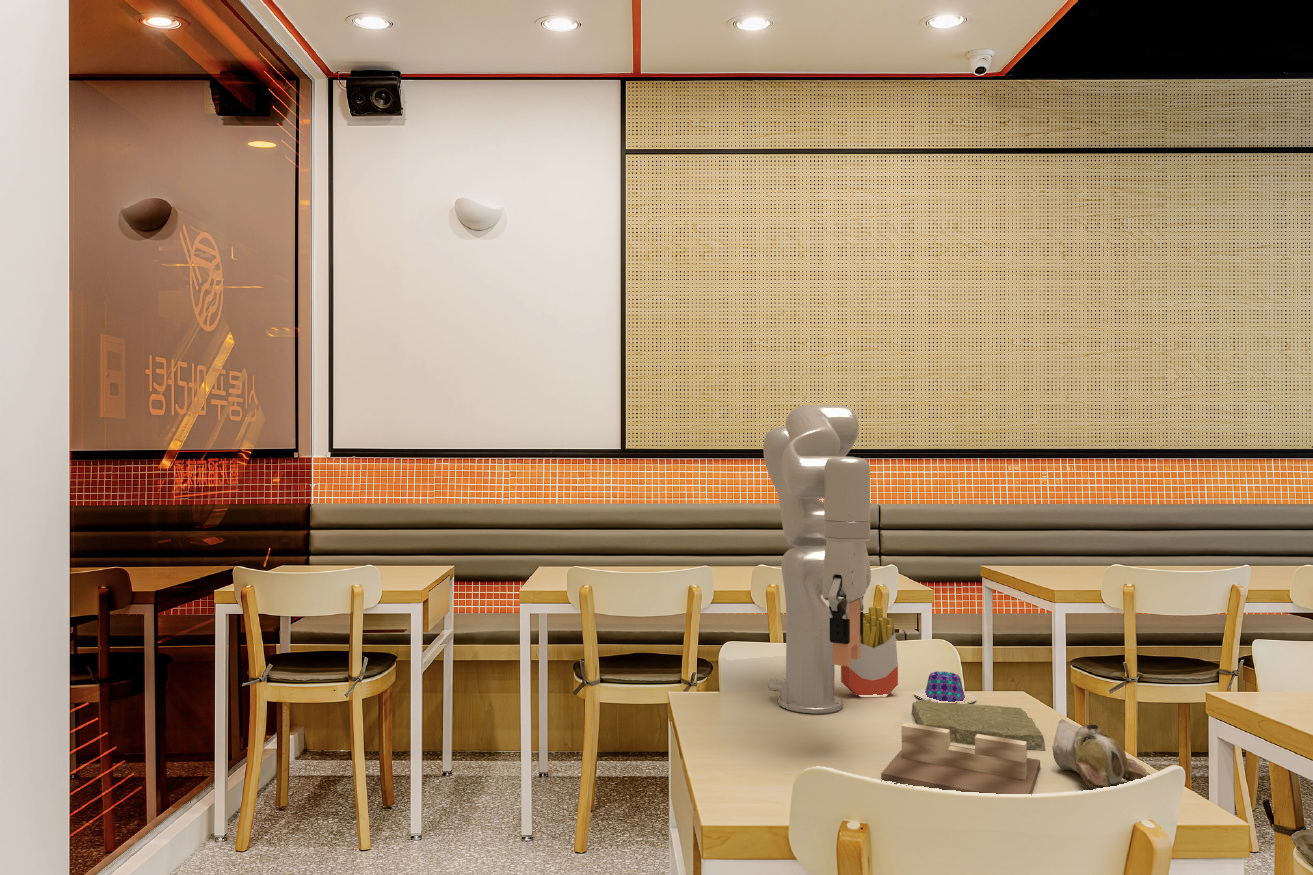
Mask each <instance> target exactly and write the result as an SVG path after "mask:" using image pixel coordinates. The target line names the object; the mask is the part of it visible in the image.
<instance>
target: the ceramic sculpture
mask: <svg viewBox="0 0 1313 875" xmlns="http://www.w3.org/2000/svg"><path fill="white" fill-rule="evenodd" d="M1051 748H1052V753H1053V754H1052V756H1053V759H1054V762H1055V763H1056V765H1057V766H1058V768H1060V769H1062V770H1063V771H1074V772H1076V773H1078V774H1079V775H1080V778H1081V779H1082V781H1083V782H1084V784H1085V785H1086V786H1088V787H1089V788H1091V789H1093V788H1103V787H1108V786H1109V787H1110V786H1111V785H1115V784H1117V783H1119V782H1121V781H1122V779H1123V780H1125V781H1126V782H1128V781H1133V780H1135V779H1141V778H1143V777H1146V776H1147V775H1151V774H1150V773H1149V772H1147V769H1146V768H1144V767H1143V766H1142V765H1141V764H1139V763H1137V762H1136V760H1134V759H1132V758H1127V755H1126V752H1125V749H1124V747H1123V746H1122V744H1121V743H1120V742H1119V741H1118V740H1116V739H1114V738H1113V737H1112V736H1110V735H1107V734H1104V733H1103V732H1102V729H1100V728H1099V726H1098V725H1097V724H1084V725H1083V726H1080V727H1079V726H1077V725H1074V724H1072V723H1070V722H1067V721H1066V719H1063V718H1061V719H1060V720H1059V722H1058V724H1057V727H1056V732H1055V735H1054V740H1053V744H1052V747H1051Z"/></svg>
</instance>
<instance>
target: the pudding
mask: <svg viewBox="0 0 1313 875" xmlns="http://www.w3.org/2000/svg"><path fill="white" fill-rule="evenodd" d="M964 692H965V691H964V688H963V684H962V680H961V677H960V675H959V674H956V673H954V672H949V671H934V672H930V674H929V676H928V679H927V683H926V687H925V688H922V689H918V690H916V691H914V693H926V695H927V697H929V698H933V699H936V700H939V701H948V702H955V701H963V700H964V698H965V695H964ZM966 695H971V694H970V693H968V694H966ZM968 697H972V698H973V699H974V700H973V701H972V702H969V703H964V704H972V703H974V702H976V700H977V698H976V697H975V696H974V695H972V696H968ZM917 698H919V697H917ZM919 699H920V700H924V699H921V698H919ZM926 701H928V700H926Z"/></svg>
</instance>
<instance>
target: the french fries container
mask: <svg viewBox="0 0 1313 875" xmlns="http://www.w3.org/2000/svg"><path fill="white" fill-rule="evenodd" d="M883 610H884V609H883V607H882V606H875V607H868V613H863V635H861V636H860V658H859V659H858V660H855V659H851V665H849V666H841V665H840V682H841V683H842V684H843V685H844V686H845V687H846V688H847V689H848V690H849V691H850V693H853V694H854V693H855V694H857V695H873V694H877V695H883V694H889V695H890V694H891V693H892V692H893V691H894V690H895V688H896V687H897V686H898V685H899V663H898V650H897V649H898V648H897V638H896V630H895V626H894V623H893V622H892V621H893V619H892V618H889V617H887V616H885V617H884V611H883ZM855 694H854V695H855ZM857 695H856V696H857Z"/></svg>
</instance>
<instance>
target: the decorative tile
mask: <svg viewBox="0 0 1313 875" xmlns="http://www.w3.org/2000/svg"><path fill="white" fill-rule="evenodd" d="M911 715H913V716H912V717H913V720H914V722H915V724H917V725H923V726H930V727H936V728H943V729H949V730H950V743H953V744H961V745H968V746H969V745H971V746H975V736H976V735H977V734H981V735H988V736H994V737H1001V738H1007V739H1014V740H1020V741H1026V742H1027V751H1038V752H1046V751H1047V749H1046V745H1045V744H1046V743H1045V738H1044V734H1043V733H1042V731H1041V730H1040V729H1039V728H1038V727H1037V726H1036V723H1035V721H1034V720H1033V718H1032V717H1029V716H1028V713H1027V711H1024V709H1023V708H1021V707H1017V706H1016V707H1014V706H1002V705H1001V706H999V705H991V704H973V703H968V704H960V703H938V702H934V701H931V700H929V701H926V700H923V699H920V700H916V701H915V702H912V704H911Z"/></svg>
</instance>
